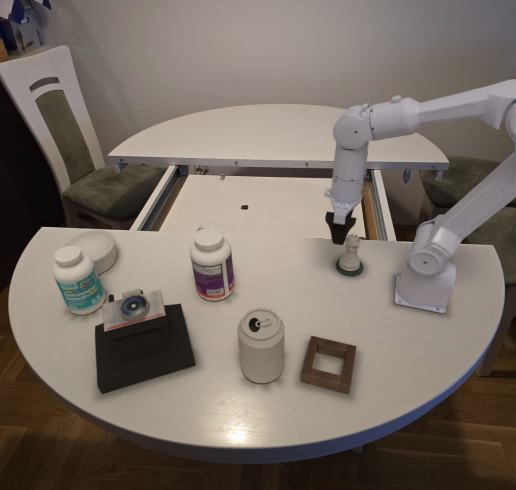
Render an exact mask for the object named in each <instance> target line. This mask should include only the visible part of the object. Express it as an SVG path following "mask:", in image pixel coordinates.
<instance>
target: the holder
mask: <svg viewBox="0 0 516 490" xmlns="http://www.w3.org/2000/svg"><path fill="white" fill-rule="evenodd" d="M356 353H357V345H355V344H350V343H345V342H340V341H337V340H333V339H328V338H324V337H319V336H315V335H310V340H309V343H308V346H307V350H306V354H305V358H304V360H303V361H304V362H303V366H302V369H301V372H300V382H301V383H304V384H308V385H310V386H311V385H312V386H315V387H318V388H323V389H326V390H330V391H333V392H338V393H341V394H345V395H349V394H350V391H351V385H352V379H353V378H352V377H353V372H354V365H355V359H356ZM318 354H322V355H325V356H330V357H334V358H338V359H341V360H342V359H343V360H344V363H343V370H342V375H340V374H336V373H332V372H328V371H324V370H321V369H317V368H314V367H315V363H316V358H317V355H318Z"/></svg>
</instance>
